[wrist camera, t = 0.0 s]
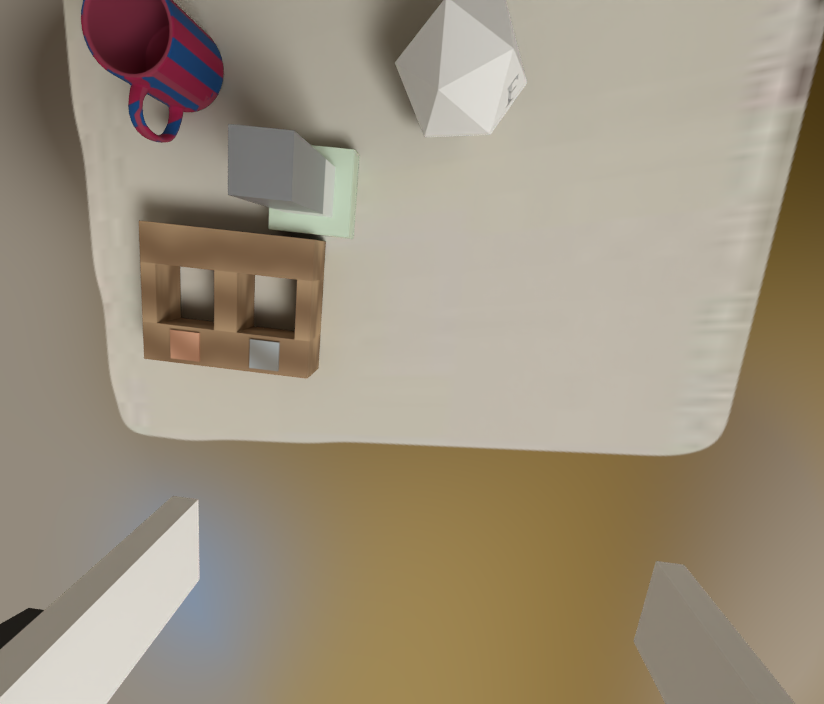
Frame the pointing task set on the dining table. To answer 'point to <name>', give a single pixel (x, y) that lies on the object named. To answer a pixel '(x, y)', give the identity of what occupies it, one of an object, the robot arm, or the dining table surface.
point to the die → (463, 68)
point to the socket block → (229, 299)
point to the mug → (154, 56)
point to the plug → (279, 171)
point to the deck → (342, 203)
